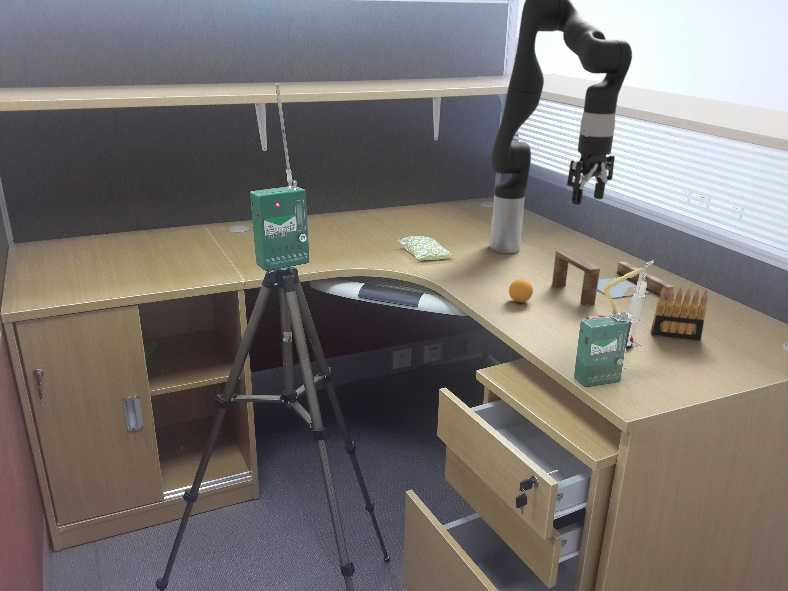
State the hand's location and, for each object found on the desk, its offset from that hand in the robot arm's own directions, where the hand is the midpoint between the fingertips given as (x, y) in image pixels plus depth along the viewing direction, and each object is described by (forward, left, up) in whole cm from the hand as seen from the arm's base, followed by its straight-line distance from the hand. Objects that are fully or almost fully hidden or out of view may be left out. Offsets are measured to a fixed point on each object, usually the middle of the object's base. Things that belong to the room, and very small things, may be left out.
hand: (587, 201), depth 158 cm
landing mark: (-5, +17, -27) cm, 32 cm away
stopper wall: (-5, +26, -27) cm, 38 cm away
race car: (+19, -3, -27) cm, 33 cm away
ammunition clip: (+24, +11, -27) cm, 38 cm away
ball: (-5, -13, -24) cm, 27 cm away
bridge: (-5, +3, -27) cm, 28 cm away
